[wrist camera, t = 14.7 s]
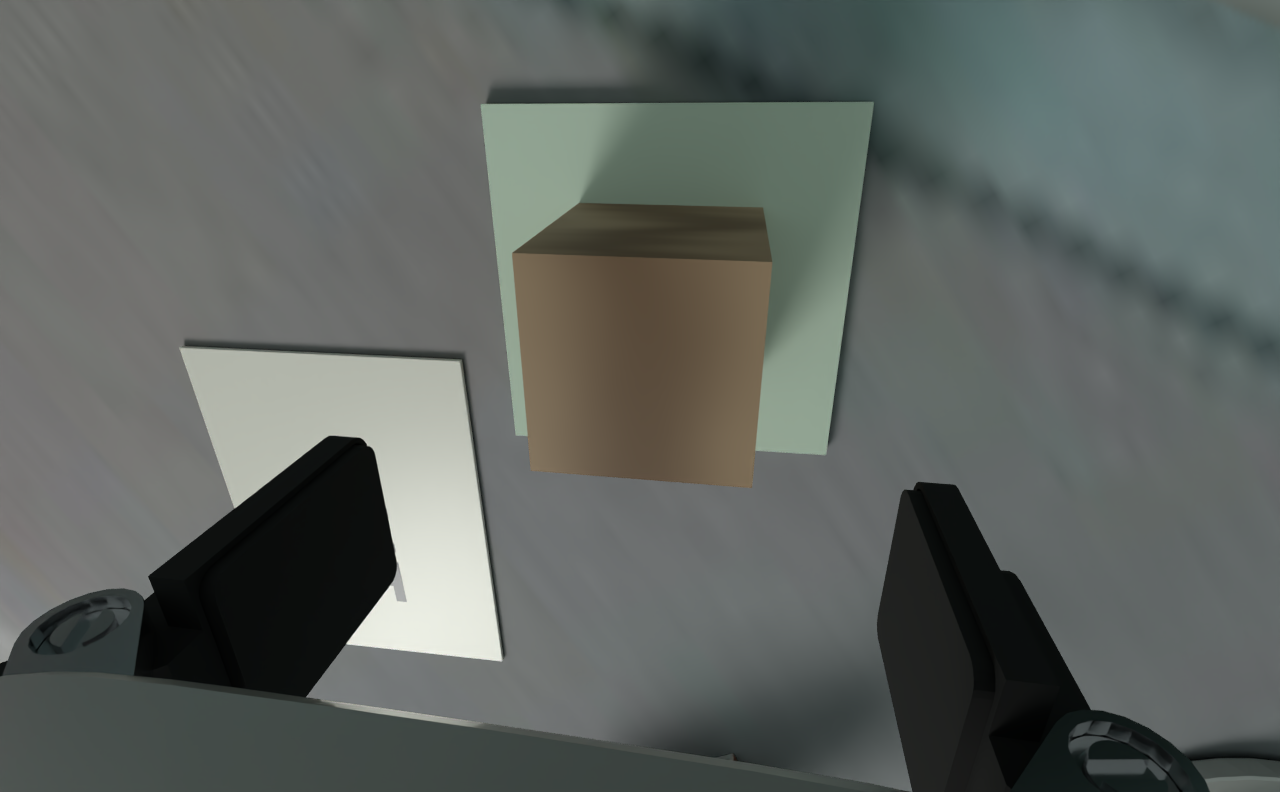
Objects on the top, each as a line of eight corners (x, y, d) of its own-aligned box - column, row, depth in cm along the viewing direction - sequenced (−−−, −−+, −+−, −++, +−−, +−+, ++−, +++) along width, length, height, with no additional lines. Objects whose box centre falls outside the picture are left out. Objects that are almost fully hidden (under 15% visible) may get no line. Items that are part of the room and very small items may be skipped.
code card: (462, 359, 25) (459, 361, 25) (503, 658, 32) (502, 661, 32) (183, 345, 27) (179, 347, 26) (281, 633, 34) (278, 636, 33)
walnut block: (762, 207, 21) (772, 262, 14) (749, 378, 23) (751, 488, 17) (578, 202, 21) (511, 253, 15) (585, 369, 24) (530, 470, 18)
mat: (871, 101, 19) (874, 102, 19) (824, 449, 24) (825, 454, 24) (484, 103, 21) (480, 104, 20) (518, 430, 26) (515, 435, 26)
